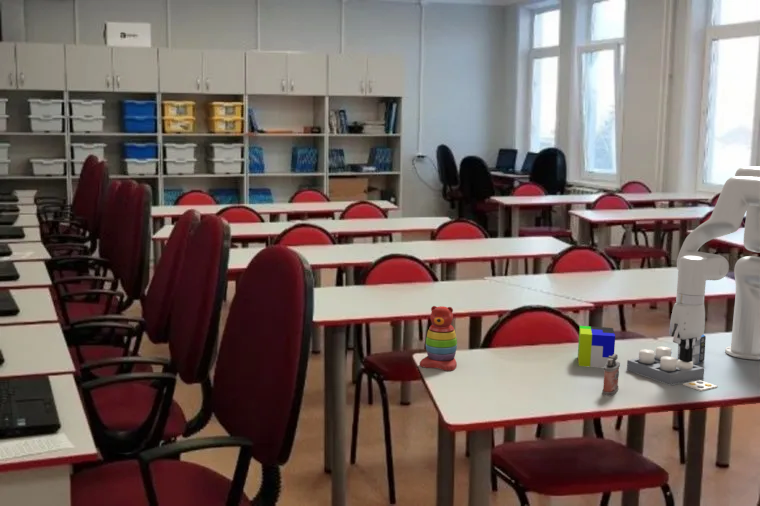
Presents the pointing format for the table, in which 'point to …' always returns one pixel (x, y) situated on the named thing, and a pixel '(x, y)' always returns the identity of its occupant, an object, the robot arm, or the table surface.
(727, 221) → the robot arm
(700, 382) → the pattern card
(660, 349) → the button
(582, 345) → the puzzle toy
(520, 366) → the table surface
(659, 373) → the button board
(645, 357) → the button
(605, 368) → the lighter
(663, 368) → the button
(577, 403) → the table surface
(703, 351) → the label tape box
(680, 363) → the button
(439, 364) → the stacking bear
